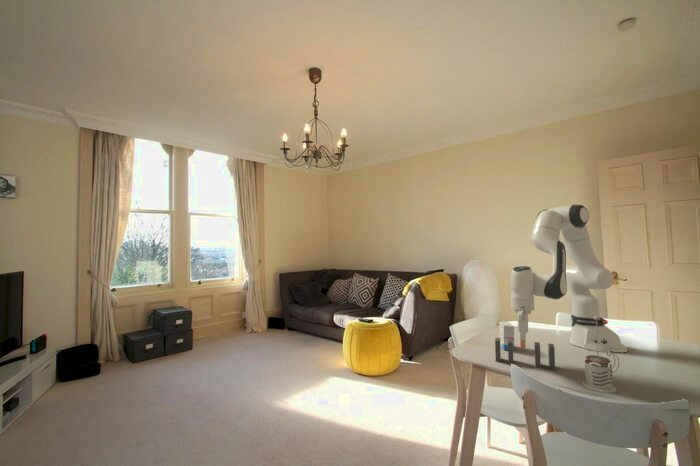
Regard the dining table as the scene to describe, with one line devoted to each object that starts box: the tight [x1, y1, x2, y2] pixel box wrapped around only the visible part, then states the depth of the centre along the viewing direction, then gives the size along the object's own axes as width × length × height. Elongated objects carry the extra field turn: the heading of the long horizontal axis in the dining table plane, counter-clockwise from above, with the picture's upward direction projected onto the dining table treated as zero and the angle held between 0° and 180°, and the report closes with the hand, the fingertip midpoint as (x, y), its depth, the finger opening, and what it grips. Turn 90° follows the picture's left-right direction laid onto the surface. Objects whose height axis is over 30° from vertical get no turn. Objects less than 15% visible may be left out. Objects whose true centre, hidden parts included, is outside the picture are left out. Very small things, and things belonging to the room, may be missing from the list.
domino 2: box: [507, 339, 514, 364], centre depth 139 cm, size 2×5×9 cm, turn 153°
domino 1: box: [494, 337, 502, 363], centre depth 141 cm, size 2×5×9 cm, turn 153°
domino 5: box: [547, 343, 556, 371], centre depth 132 cm, size 2×5×9 cm, turn 153°
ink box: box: [498, 321, 515, 352], centre depth 157 cm, size 9×5×12 cm, turn 168°
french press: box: [581, 316, 620, 393], centre depth 115 cm, size 10×12×25 cm
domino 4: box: [533, 341, 542, 369], centre depth 134 cm, size 2×5×9 cm, turn 153°
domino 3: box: [519, 335, 526, 350], centre depth 137 cm, size 2×5×9 cm, turn 153°
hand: (522, 337), depth 137 cm, fingers closed on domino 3, 5 cm apart
